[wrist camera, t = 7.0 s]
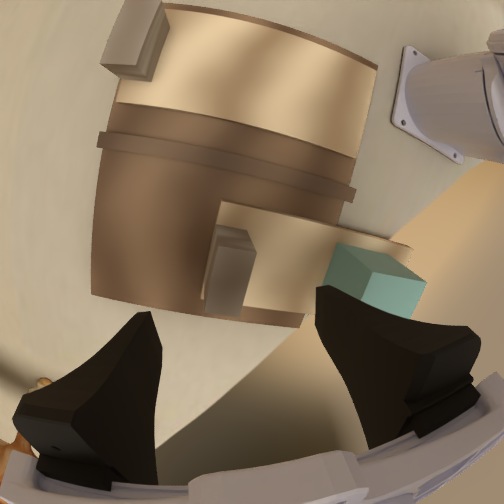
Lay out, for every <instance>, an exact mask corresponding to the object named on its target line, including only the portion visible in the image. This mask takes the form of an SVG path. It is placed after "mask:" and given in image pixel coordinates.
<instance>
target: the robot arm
mask: <svg viewBox="0 0 504 504" xmlns="http://www.w3.org/2000/svg"><path fill="white" fill-rule="evenodd" d="M487 45H488V47H489V50H490V51H486V52H479V53H472V54H466V55H460V56H454V57H449V58H444V59H439V60H434V61H432V60H430V59H429V58H427V57H426V56H425V55H423V54H422V53H420V52H419V51H418V50H416V49H415V48H413V47H412V46H410V45H407V46H405V47H404V52H403V59H402V66H401V72H400V78H399V84H398V89H397V94H396V100H395V105H394V109H393V114H392V123H393V125H395V126H396V127H398V128H400V129H402V130H404V131H405V132H407V133H409V134H411V135H413V136H414V137H416V138H418V139H419V140H421V141H423V142H424V143H426V144H428V145H429V146H431V147H433V148H434V149H436V150H437V151H439V152H440V153H442V154H443V155H445V156H446V157H448V158H449V159H451V160H452V161H454V162H455V163H457V164H460V165H461V164H462V163H463V160H464V156H468V157H473V158H478V159H483V160H488V161H493V162H497V163H502V164H504V29H501V30H497V31H494V32H492V33H490V36H489V40H488V41H487ZM413 52H414V54H415V55H414V54H413ZM401 121H403V125H402V124H401ZM453 155H454V156H453ZM315 326H316V329H317V331H318V334H319V337H320V339H321V341H322V343H323V345H324V347H325V348H326V350H327V352H328V354H329V356H330V357H331V359H332V360H333V362H334V364H335V366H336V368H337V369H338V371H339V373H340V374H341V376H342V378H343V380H344V382H345V384H346V386H347V388H348V391H349V393H350V395H351V398H352V400H353V403H354V405H355V408H356V411H357V413H358V416H359V419H360V422H361V425H362V428H363V431H364V434H365V437H366V441H367V444H368V447H369V450H368V451H365V452H363V453H360V454H357V455H354V453H352V452H346V451H339V450H337V451H332V452H326V453H321V454H317V455H313V456H309V457H305V458H301V459H297V460H293V461H288V462H283V463H279V464H273V465H267V466H261V467H255V468H249V469H241V470H232V471H223V472H217V473H211V474H205V475H201V476H199V477H198V478H195V479H194V480H192V481H190V482H189V483H188V486H159V485H158V478H157V471H156V458H155V439H154V416H155V406H156V399H157V393H158V387H159V381H160V375H161V369H162V345H161V342H160V339H159V336H158V333H157V330H156V327H155V324H154V321H153V318H152V315H151V312H150V311H147V312H137V313H136V314H135V315H134V316H133V317H132V318H131V319H130V320H129V321H128V322H127V323H126V324H125V325H124V326H123V327H122V328H121V330H120V331H119V332H118V333H117V334H116V335H115V336H114V337H113V338H112V339H111V340H110V341H109V342H108V343H107V344H106V345H105V346H104V347H102V348H101V349H100V350H99V351H98V352H97V353H96V354H95V355H94V356H92V357H91V358H90V359H89V360H87V361H86V362H85V363H84V364H82V365H81V366H79V367H78V368H76V369H75V370H73V371H72V372H70V373H69V374H67V375H66V376H64V377H62V378H61V379H59V380H57V381H55V382H53V383H51V384H49V385H47V386H45V387H43V388H40V389H38V390H35V391H33V392H30V393H27V394H24V395H23V396H22V398H21V400H20V402H19V405H18V407H17V409H16V411H15V413H14V416H13V418H12V420H13V424H14V426H15V427H16V429H17V431H18V432H19V433H20V434H21V435H22V436H23V437H24V438H25V439H26V440H27V441H28V442H29V443H30V444H31V445H32V446H33V447H34V448H35V449H36V450H37V451H38V452H39V453H40V455H39V459H36V458H35V457H33V456H31V455H28V454H25V453H22V452H19V451H16V450H12V452H11V455H10V458H9V460H8V463H7V467H6V470H5V473H4V476H3V479H2V483H1V487H0V498H1V499H3V500H4V501H5V502H7V503H8V504H416V502H418V501H419V500H421V499H423V498H425V497H426V496H428V495H430V494H431V493H433V492H434V491H436V490H437V489H439V488H440V487H442V486H443V485H445V484H447V483H448V482H449V481H451V480H452V479H454V478H455V477H456V476H458V475H459V474H461V473H462V472H463V471H464V470H466V469H467V468H468V467H470V466H471V465H472V464H474V463H475V462H476V461H477V460H479V459H480V458H481V457H482V456H483V455H485V454H486V453H487V452H488V451H489V450H491V449H492V448H493V447H494V446H495V445H496V444H497V443H498V442H499V441H500V440H501V439H502V438H503V437H504V379H503V378H502V377H501V376H500V375H499V374H498V373H497V372H494V373H493V374H491V375H490V376H488V377H487V378H486V379H484V380H483V381H481V382H480V383H479V384H478V385H477V386H476V388H475V387H474V386H473V385H472V384H471V383H472V382H473V377H472V376H471V375H470V374H469V373H470V371H471V369H472V367H473V364H474V363H475V360H476V358H477V356H478V354H479V351H480V347H481V339H480V337H479V336H478V335H476V334H475V333H474V332H473V331H472V330H471V329H470V328H469V327H468V326H450V325H449V326H448V325H438V324H431V323H425V322H420V321H415V320H411V319H407V318H403V317H400V316H397V315H394V314H391V313H388V312H385V311H383V310H380V309H378V308H376V307H373V306H371V305H369V304H367V303H365V302H363V301H361V300H359V299H357V298H355V297H353V296H351V295H349V294H347V293H345V292H343V291H341V290H339V289H337V288H335V287H333V286H331V285H324V286H319V287H316V305H315Z"/></svg>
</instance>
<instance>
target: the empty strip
mask: <svg viewBox="0 0 504 504" xmlns="http://www.w3.org/2000/svg"><path fill="white" fill-rule="evenodd" d="M100 64H101V65H102V66H104V67H105V68H107V69H108V70H109V71H111V72H112V73H114V74H115V75H116V76H118V77H119V78H121V79H122V81H121V84H120V87H119V91H118V94H117V98H116V102H117V103H121V104H130V105H139V106H147V107H155V108H162V109H168V110H174V111H180V112H186V113H192V114H197V115H202V116H207V117H212V118H217V119H221V120H226V121H230V122H234V123H239V124H243V125H247V126H251V127H255V128H258V129H262V130H266V131H270V132H273V133H277V134H280V135H283V136H287V137H290V138H293V139H297V140H300V141H303V142H306V143H309V144H312V145H315V146H318V147H321V148H324V149H327V150H330V151H333V152H335V153H338V154H341V155H344V156H346V157H349V158H353V159H356V158H357V154H358V151H359V147H360V143H361V139H362V135H363V131H364V127H365V123H366V119H367V115H368V110H369V106H370V101H371V97H372V92H373V87H374V83H375V78H376V73H377V71H376V70H374V69H372V68H370V67H368V66H366V65H364V64H362V63H360V62H358V61H356V60H354V59H352V58H350V57H347V56H345V55H343V54H341V53H339V52H336V51H334V50H332V49H329V48H327V47H324V46H322V45H319V44H317V43H314V42H312V41H309V40H306V39H303V38H301V37H298V36H295V35H292V34H289V33H286V32H283V31H279V30H276V29H273V28H269V27H266V26H262V25H258V24H254V23H250V22H246V21H242V20H238V19H233V18H228V17H223V16H218V15H212V14H206V13H199V12H192V11H183V10H174V9H164V6H163V3H162V0H125V2H124V4H123V6H122V8H121V10H120V13H119V15H118V17H117V19H116V22H115V24H114V26H113V29H112V31H111V34H110V36H109V39H108V41H107V44H106V47H105V49H104V52H103V55H102V58H101V61H100Z"/></svg>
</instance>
